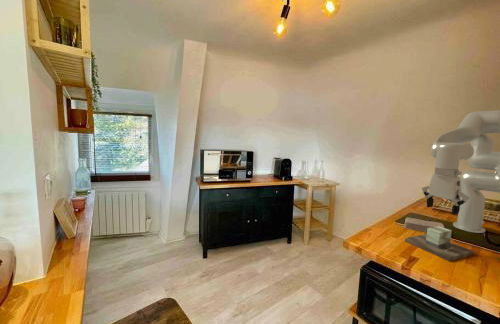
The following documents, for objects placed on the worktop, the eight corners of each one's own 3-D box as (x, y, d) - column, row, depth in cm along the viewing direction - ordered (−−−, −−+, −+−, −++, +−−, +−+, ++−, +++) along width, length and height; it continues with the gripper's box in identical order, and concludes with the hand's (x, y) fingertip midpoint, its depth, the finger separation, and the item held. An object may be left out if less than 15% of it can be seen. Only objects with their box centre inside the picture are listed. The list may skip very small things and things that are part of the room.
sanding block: (437, 240, 104) (439, 226, 103) (449, 245, 99) (451, 230, 98) (425, 243, 101) (427, 228, 100) (438, 248, 97) (439, 232, 96)
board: (427, 236, 112) (427, 233, 111) (473, 254, 95) (473, 251, 95) (404, 241, 106) (405, 238, 106) (449, 261, 89) (449, 257, 89)
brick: (404, 228, 121) (404, 220, 121) (404, 223, 128) (405, 215, 127) (443, 237, 112) (445, 228, 111) (442, 231, 118) (443, 223, 118)
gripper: (476, 175, 89) (471, 216, 92) (429, 168, 106) (426, 203, 108) (465, 176, 87) (460, 218, 89) (419, 169, 103) (415, 205, 105)
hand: (441, 210), depth 99 cm, fingers open, 9 cm apart
